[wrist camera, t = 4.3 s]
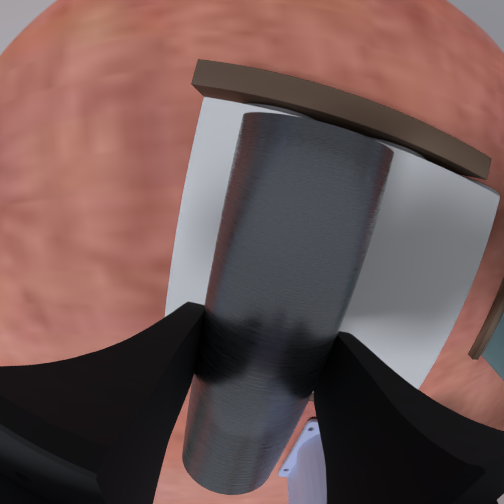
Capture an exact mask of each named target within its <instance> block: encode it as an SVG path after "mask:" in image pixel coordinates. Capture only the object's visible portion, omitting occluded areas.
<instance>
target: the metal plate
mask: <svg viewBox="0 0 504 504" xmlns="http://www.w3.org/2000/svg"><path fill="white" fill-rule="evenodd" d="M249 112H266V113H277V114H284V115H291V114H287V113H283V112H279V111H275V110H270V109H266V108H261V107H257V106H252V105H247V104H242V103H237V102H232V101H227V100H221V99H215V98H209V97H204V100H203V104H202V108H201V112H200V116H199V120H198V124H197V129H196V133H195V138H194V142H193V147H192V151H191V156H190V161H189V166H188V171H187V176H186V181H185V186H184V191H183V196H182V202H181V207H180V213H179V219H178V225H177V231H176V237H175V243H174V250H173V256H172V263H171V270H170V278H169V285H168V293H167V301H166V309H165V317H166V316H167V315H169V314H170V313H172V312H173V311H175V310H176V309H177V308H179V307H180V306H181V305H183V304H184V303H186V302H188V301H189V302H193V303H198V304H202V305H205V299H206V293H207V288H208V282H209V277H210V271H211V266H212V260H213V255H214V250H215V244H216V239H217V234H218V229H219V224H220V219H221V214H222V209H223V204H224V199H225V194H226V189H227V185H228V180H229V175H230V171H231V166H232V161H233V157H234V152H235V148H236V143H237V139H238V134H239V130H240V125H241V121H242V117H243V114H244V113H249ZM291 116H295V115H291ZM296 117H299V116H296ZM378 142H379V141H378ZM380 143H382V142H380ZM382 144H383V145H385V146H387V147H389V148H390V149H391V150H392V151H393V152H394V155H393V160H392V164H391V168H390V172H389V176H388V180H387V184H386V188H385V192H384V196H383V200H382V203H381V207H380V211H379V214H378V218H377V221H376V225H375V228H374V231H373V235H372V238H371V241H370V244H369V248H368V251H367V254H366V257H365V260H364V263H363V266H362V269H361V272H360V275H359V278H358V281H357V284H356V287H355V289H354V292H353V295H352V298H351V301H350V303H349V306H348V309H347V311H346V314H345V317H344V319H343V322H342V324H341V327H340V329H339V331H341V332H348V333H350V334H352V335H353V336H355V337H356V338H357V339H358V340H360V341H361V342H362V343H363V344H364V345H365V346H366V347H368V348H369V349H370V350H371V351H372V352H373V353H374V354H375V355H377V356H378V357H379V358H380V359H381V360H382V361H383V362H384V363H386V364H387V365H388V366H389V367H390V368H391V369H392V370H394V371H395V372H396V373H397V374H398V375H400V376H401V377H402V378H403V379H405V380H406V381H407V382H409V383H410V384H411V385H412V386H414V387H415V388H417V389H419V387H420V386H421V384H422V383H423V381H424V379H425V378H426V376H427V374H428V373H429V371H430V369H431V367H432V366H433V364H434V362H435V360H436V359H437V357H438V355H439V353H440V351H441V349H442V348H443V346H444V344H445V342H446V340H447V338H448V336H449V334H450V332H451V330H452V328H453V326H454V324H455V322H456V320H457V318H458V315H459V313H460V311H461V309H462V307H463V304H464V302H465V300H466V298H467V295H468V293H469V290H470V288H471V286H472V283H473V281H474V278H475V275H476V273H477V270H478V268H479V265H480V262H481V259H482V256H483V254H484V251H485V248H486V245H487V242H488V239H489V235H490V232H491V229H492V225H493V222H494V218H495V215H496V211H497V207H498V203H499V199H500V196H498V195H496V194H495V193H493V192H491V191H489V190H487V189H485V188H483V187H482V186H480V185H478V184H476V183H474V182H472V181H470V180H468V179H466V178H464V177H462V176H460V175H458V174H456V173H453V172H451V171H449V170H447V169H445V168H443V167H440V166H438V165H436V164H434V163H431V162H429V161H427V160H425V159H422V158H420V157H417V156H415V155H413V154H410V153H408V152H405V151H403V150H400V149H397V148H395V147H392V146H390V145H387V144H384V143H382ZM312 393H313V392H312Z"/></svg>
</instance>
